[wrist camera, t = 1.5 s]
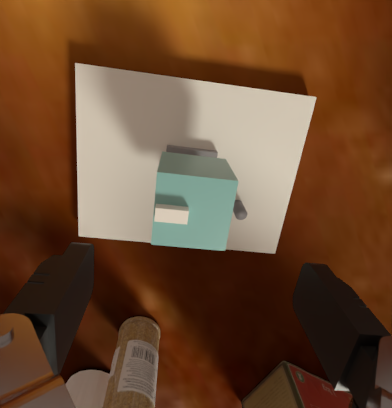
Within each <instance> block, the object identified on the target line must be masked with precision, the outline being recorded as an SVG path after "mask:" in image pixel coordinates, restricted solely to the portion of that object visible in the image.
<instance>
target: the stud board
mask: <svg viewBox="0 0 392 408" xmlns="http://www.w3.org/2000/svg"><path fill="white" fill-rule="evenodd" d="M75 84H76V134H77V185H78V235H79V236H81V237H92V238H103V239H115V240H126V241H137V242H148V243H151V237H152V225H153V214H154V202H155V190H156V178H157V170H158V166H159V162H160V158H161V155H162V151H163V152H171V153H180V154H188V155H197V156H205V157H214V158H222V159H226V160H227V162H228V164H229V166H230V167H231V169H232V171H233V172H234V174H235V176H236V177H237V179H238V181H239V182H238V187H237V192H236V197H235V202H234V208H233V213H232V218H231V223H230V228H229V234H228V239H227V244H226V249H227V250H238V251H250V252H261V253H272V254H275V252H276V248H277V244H278V241H279V237H280V233H281V229H282V226H283V222H284V218H285V214H286V210H287V207H288V203H289V199H290V195H291V192H292V188H293V184H294V180H295V177H296V173H297V169H298V165H299V162H300V158H301V154H302V150H303V147H304V143H305V139H306V135H307V131H308V128H309V124H310V120H311V116H312V113H313V109H314V105H315V101H316V98H317V97H312V96H305V95H298V94H291V93H284V92H277V91H270V90H263V89H256V88H249V87H242V86H235V85H228V84H221V83H214V82H207V81H199V80H192V79H185V78H178V77H171V76H164V75H157V74H150V73H143V72H136V71H129V70H122V69H115V68H108V67H101V66H94V65H87V64H80V63H75Z"/></svg>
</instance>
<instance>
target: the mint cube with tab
mask: <svg viewBox="0 0 392 408" xmlns="http://www.w3.org/2000/svg"><path fill="white" fill-rule="evenodd" d="M238 182H239V181H238V179H237V177H236V176H235V174H234V172H233V171H232V169H231V167H230V166H229V164H228V162H227V160H226V159H222V158H214V157H205V156H197V155H188V154H180V153H171V152H163V151H162V155H161V158H160V162H159V166H158V170H157V178H156V190H155V202H154V214H153V225H152V237H151V245H162V246H173V247H184V248H196V249H207V250H218V251H225V249H226V244H227V239H228V234H229V228H230V223H231V218H232V213H233V208H234V202H235V197H236V192H237V187H238Z"/></svg>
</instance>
